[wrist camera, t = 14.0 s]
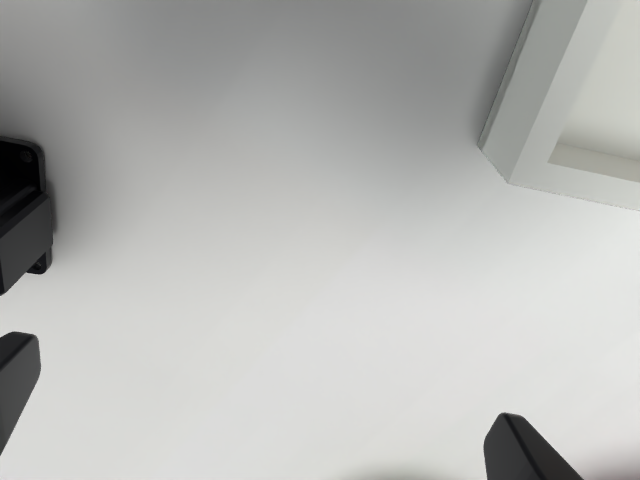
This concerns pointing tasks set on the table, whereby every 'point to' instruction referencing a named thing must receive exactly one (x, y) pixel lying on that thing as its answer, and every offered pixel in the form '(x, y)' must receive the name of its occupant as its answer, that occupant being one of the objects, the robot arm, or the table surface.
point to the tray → (572, 103)
